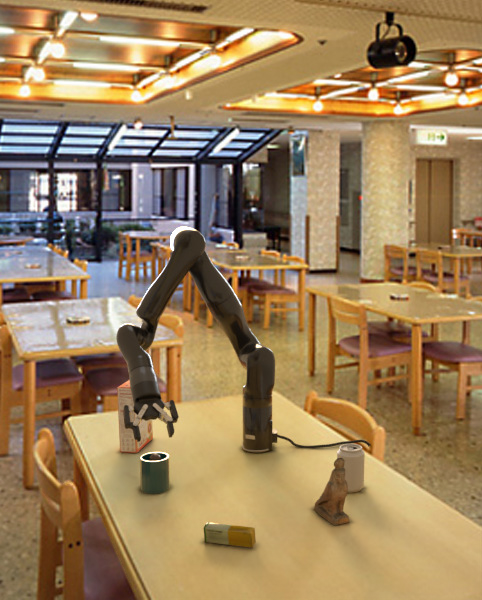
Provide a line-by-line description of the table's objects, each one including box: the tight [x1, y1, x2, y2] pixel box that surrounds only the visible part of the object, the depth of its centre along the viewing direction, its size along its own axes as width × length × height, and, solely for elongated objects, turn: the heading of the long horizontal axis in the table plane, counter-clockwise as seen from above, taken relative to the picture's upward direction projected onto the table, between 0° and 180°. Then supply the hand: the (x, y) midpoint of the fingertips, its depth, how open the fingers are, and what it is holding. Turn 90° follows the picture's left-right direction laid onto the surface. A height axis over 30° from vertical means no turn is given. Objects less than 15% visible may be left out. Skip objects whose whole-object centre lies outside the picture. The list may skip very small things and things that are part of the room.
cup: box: [139, 451, 171, 495], centre depth 214 cm, size 8×8×9 cm
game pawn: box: [149, 453, 161, 461], centre depth 214 cm, size 4×4×9 cm
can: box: [336, 443, 366, 494], centre depth 216 cm, size 8×8×12 cm
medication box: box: [203, 522, 257, 549], centre depth 183 cm, size 12×3×4 cm, turn 75°
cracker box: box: [116, 379, 154, 454], centre depth 248 cm, size 14×6×21 cm, turn 172°
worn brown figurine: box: [313, 458, 350, 526], centre depth 197 cm, size 12×6×18 cm, turn 24°
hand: (155, 438), depth 212 cm, fingers open, 8 cm apart
